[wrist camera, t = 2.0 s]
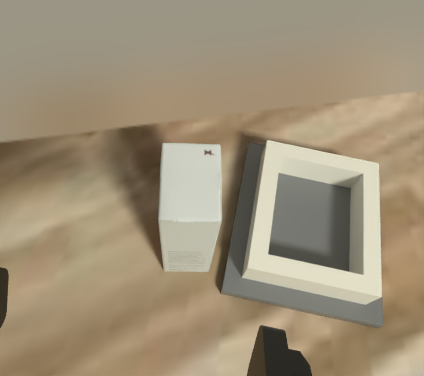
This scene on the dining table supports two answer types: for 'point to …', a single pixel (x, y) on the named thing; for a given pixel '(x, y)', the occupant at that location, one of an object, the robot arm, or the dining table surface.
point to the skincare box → (189, 205)
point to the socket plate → (308, 234)
